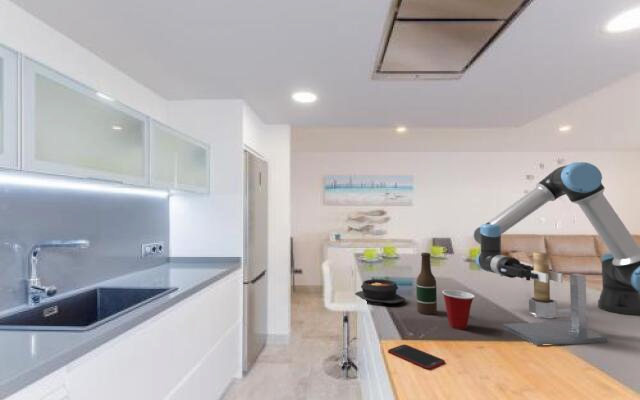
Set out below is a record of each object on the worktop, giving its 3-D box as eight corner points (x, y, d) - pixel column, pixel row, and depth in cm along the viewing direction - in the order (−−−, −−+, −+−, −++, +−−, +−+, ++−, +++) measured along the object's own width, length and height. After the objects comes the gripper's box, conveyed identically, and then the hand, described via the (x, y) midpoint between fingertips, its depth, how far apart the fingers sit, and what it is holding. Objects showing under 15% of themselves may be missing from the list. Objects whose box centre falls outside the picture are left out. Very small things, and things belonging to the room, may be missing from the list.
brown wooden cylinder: (543, 299, 117) (542, 252, 117) (553, 303, 113) (552, 254, 113) (531, 300, 116) (530, 252, 117) (540, 303, 112) (539, 254, 113)
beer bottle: (436, 310, 143) (435, 252, 144) (436, 315, 136) (435, 254, 137) (417, 308, 146) (416, 251, 146) (416, 314, 138) (415, 253, 139)
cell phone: (404, 347, 106) (404, 343, 106) (446, 364, 94) (446, 360, 94) (386, 353, 102) (386, 350, 102) (428, 372, 90) (428, 368, 90)
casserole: (414, 302, 156) (414, 283, 156) (387, 310, 144) (387, 289, 145) (372, 292, 175) (372, 275, 176) (346, 298, 164) (345, 280, 164)
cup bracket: (565, 325, 124) (563, 270, 124) (607, 342, 108) (605, 279, 109) (502, 328, 121) (501, 272, 122) (536, 346, 105) (534, 281, 106)
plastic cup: (478, 332, 117) (478, 296, 117) (445, 330, 119) (444, 295, 120) (471, 322, 128) (470, 289, 128) (440, 320, 130) (440, 288, 130)
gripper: (527, 275, 134) (579, 289, 110) (485, 276, 131) (529, 290, 108) (527, 256, 134) (579, 265, 111) (484, 256, 132) (528, 266, 109)
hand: (554, 278), depth 109 cm, fingers closed on brown wooden cylinder, 4 cm apart
